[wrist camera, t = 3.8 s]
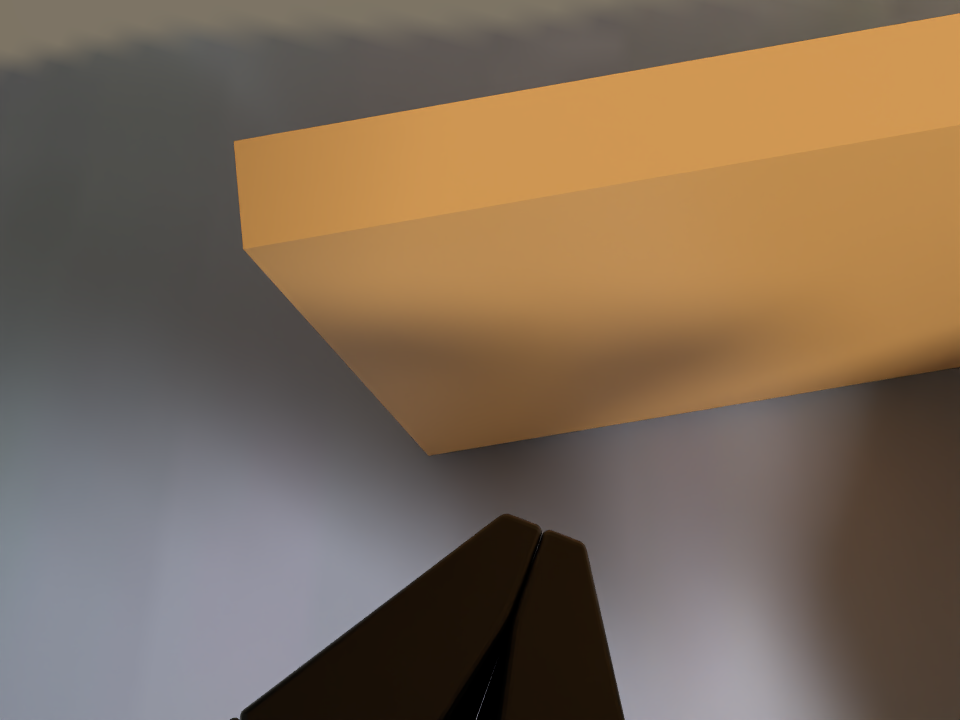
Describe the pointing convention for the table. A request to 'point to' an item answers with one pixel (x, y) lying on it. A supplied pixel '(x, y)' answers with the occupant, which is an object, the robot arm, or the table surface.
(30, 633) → the table surface
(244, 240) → the side door
